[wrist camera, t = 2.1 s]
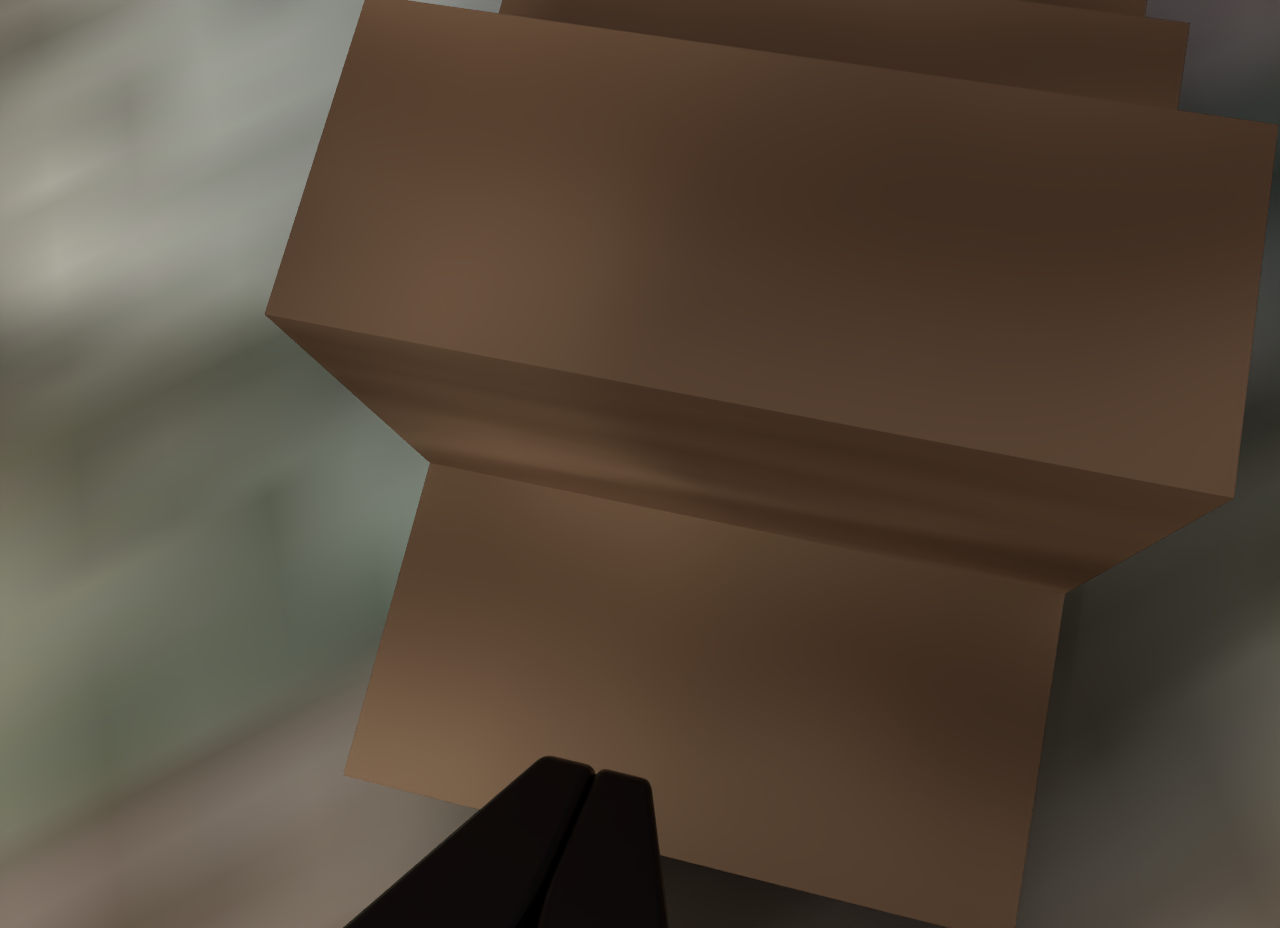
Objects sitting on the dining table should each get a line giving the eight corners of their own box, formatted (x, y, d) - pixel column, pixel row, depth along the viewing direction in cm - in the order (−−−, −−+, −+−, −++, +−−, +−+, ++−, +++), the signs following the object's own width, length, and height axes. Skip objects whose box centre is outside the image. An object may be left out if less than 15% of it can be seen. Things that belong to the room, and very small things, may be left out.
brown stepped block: (981, 920, 19) (1167, 1057, 10) (393, 773, 20) (114, 781, 12) (1117, 46, 22) (1343, -415, 14) (607, -24, 24) (516, -476, 15)
